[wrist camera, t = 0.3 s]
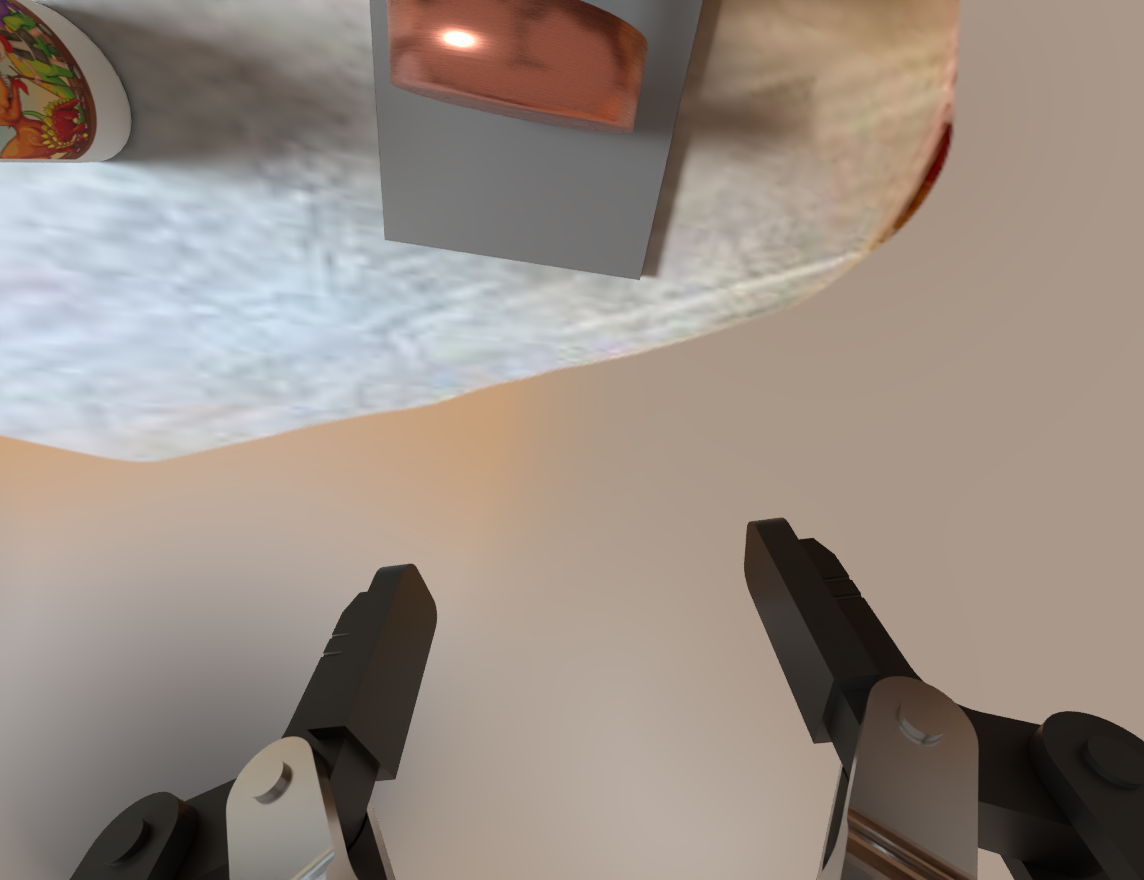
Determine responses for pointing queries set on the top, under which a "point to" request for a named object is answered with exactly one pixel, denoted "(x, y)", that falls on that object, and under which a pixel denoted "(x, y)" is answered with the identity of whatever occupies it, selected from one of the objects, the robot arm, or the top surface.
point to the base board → (533, 162)
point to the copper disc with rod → (520, 59)
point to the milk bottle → (56, 90)
